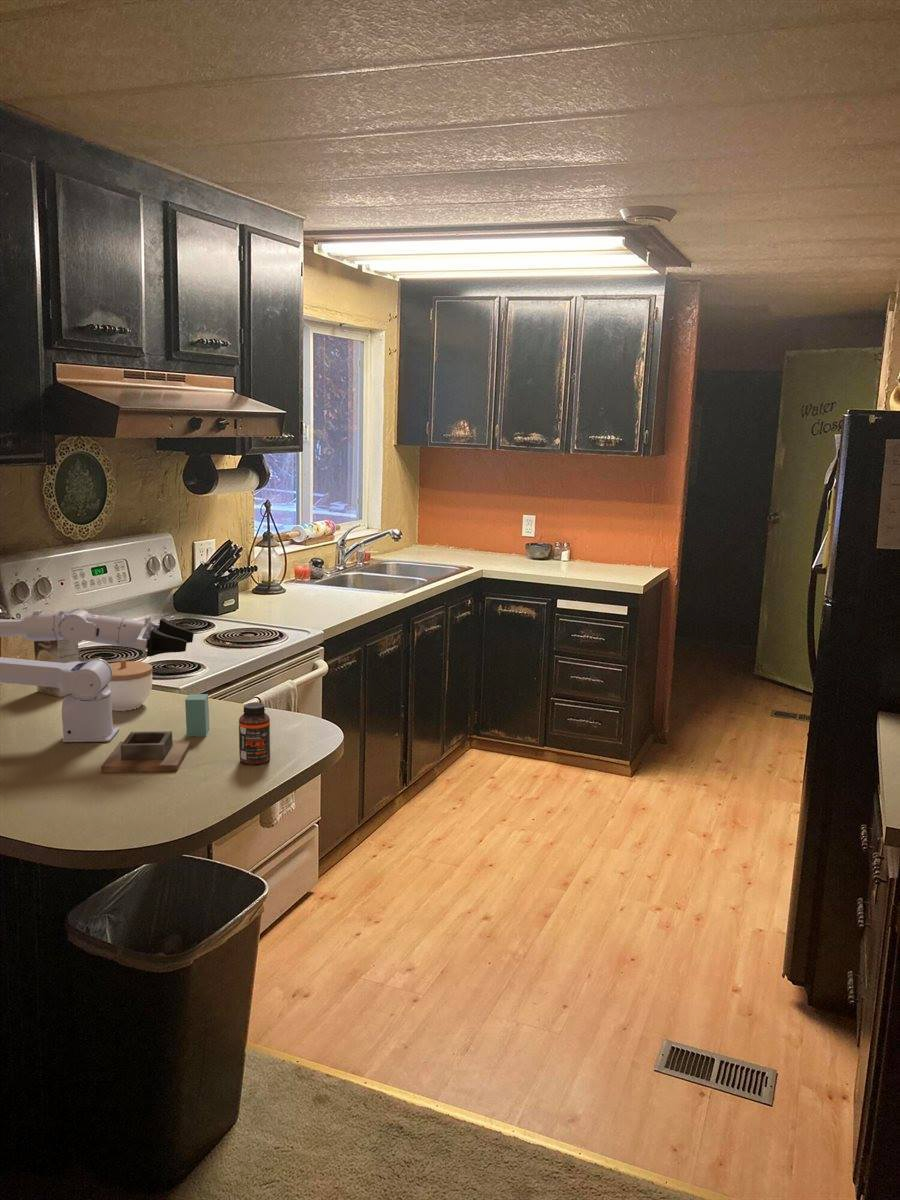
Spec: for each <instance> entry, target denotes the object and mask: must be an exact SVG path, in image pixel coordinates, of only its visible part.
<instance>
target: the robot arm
mask: <svg viewBox="0 0 900 1200" xmlns="http://www.w3.org/2000/svg"><path fill="white" fill-rule="evenodd" d="M151 617H152V616H149V615H147V616H146V617H145V618H144V621H143V620H137V619H130V618H122V617H117V616H110V615H103V614H102V615H99V614H92V612H90V611H88V610H85V609H80V608H75V609H73V610H71V611H70V612H68V613H67V610H66V609H61V610H59V611H58V612H57V611H56V612H43V611H42V609H35V610H34V611H32V612H30V613H29V612H28V614H27V615H25V617H24V618H23V619H14V618H13V619H11V618H8V619H7V618H5V619H4V618H0V638H3V637H17V636H18V637H19V636H22V637H24V638H25V639H26V640H27V641H29V642H34V641H52V640H63V639H64V638H65V639H66V640H69V641H70V642H71V643H78V644H79V643H81V642H82V641H85V642H92V643H97V644H103V645H109V646H110V645H111V646H117V647H124V648H132V649H137V650H141V651H146V656H147V657H150V658H152V657H153V656H158V655H161V654H168V653H169V654H170V653H182V652H186V651H187V645H188V644H190V643H193V642H194V641H193V640H194V635H195V634H194V633H195V632H193V631H191V630H188V629H186V628H183V627H181V626H178V625H176V624H174V623H172V622H171V621H169V620H167V619H166V618H160V620H159V623H155V622H152V621H151ZM109 664H110V663H108V662H107V661H106V660H105V659H101V658H91V659H89V660H85V661H81V660H79V661H75V662H69V663H58V662H47V661H36V660H35V659H24V658H13V657H3V656H2V657H1V656H0V684H1V683H2V684H3V683H4V684H13V685H15V684H16V685H24V686H25V685H26V686H36V687H37V686H45V687H56V688H59V689H60V690H61V691H62V692H64V693H71V694H69V695H66V696H64V698H63V701H62V704H61V719H62V734H63V735H62V736H63V737H62V738H63V739H62V742H63V743H86V742H87V743H90V742H92V743H93V742H95V743H97V742H99V743H100V742H110V741H111V740H112V738H114V736H115V735H116V734H117V733H118V731H120V727H116V726H115V727H114V722H113V710H112V703H111V691H110V689H109V687H108V683H109V682H110V681H111V679H112V675H113V672H112V668H111V666H110V665H109Z"/></svg>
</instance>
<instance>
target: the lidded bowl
mask: <svg viewBox="0 0 900 1200" xmlns="http://www.w3.org/2000/svg"><path fill="white" fill-rule="evenodd" d="M108 664H109V665H110V666H111V668H112V672H113V675H112V679H111V681H110V682H109V683H108V687H109V689H110V691H111V703H112V711H115V712H116V711H117V712H127V711H126V710H129V711H133V710H132V709H134V710H137V709H140V708H141V707H142V706H143V704H144V703H145V702H146V701H147V700H148V698H149V696H150V694H151V691H152V689H153V665H152V664H150V663H147V662H143V661H135V660H134V661H131V660H130V661H129V660H128V661H127V660H126V659H125V658H123V659H120V661H117V662H110V663H108ZM141 705H142V706H141ZM140 706H141V707H140ZM139 707H140V708H139ZM136 708H137V709H136Z"/></svg>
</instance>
